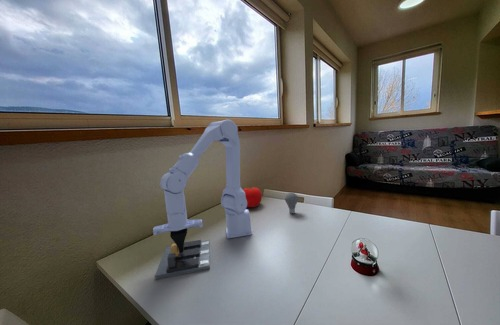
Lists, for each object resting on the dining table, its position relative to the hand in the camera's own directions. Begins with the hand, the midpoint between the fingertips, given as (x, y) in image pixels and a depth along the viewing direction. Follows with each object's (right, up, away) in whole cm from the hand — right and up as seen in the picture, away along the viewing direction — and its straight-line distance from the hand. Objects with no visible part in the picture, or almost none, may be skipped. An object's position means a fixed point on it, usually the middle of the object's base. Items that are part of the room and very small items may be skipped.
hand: (181, 251), depth 64 cm
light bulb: (+42, +4, +30) cm, 52 cm away
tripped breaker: (-2, -1, 0) cm, 2 cm away
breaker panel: (+1, -3, +1) cm, 3 cm away
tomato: (+23, +5, +44) cm, 50 cm away
